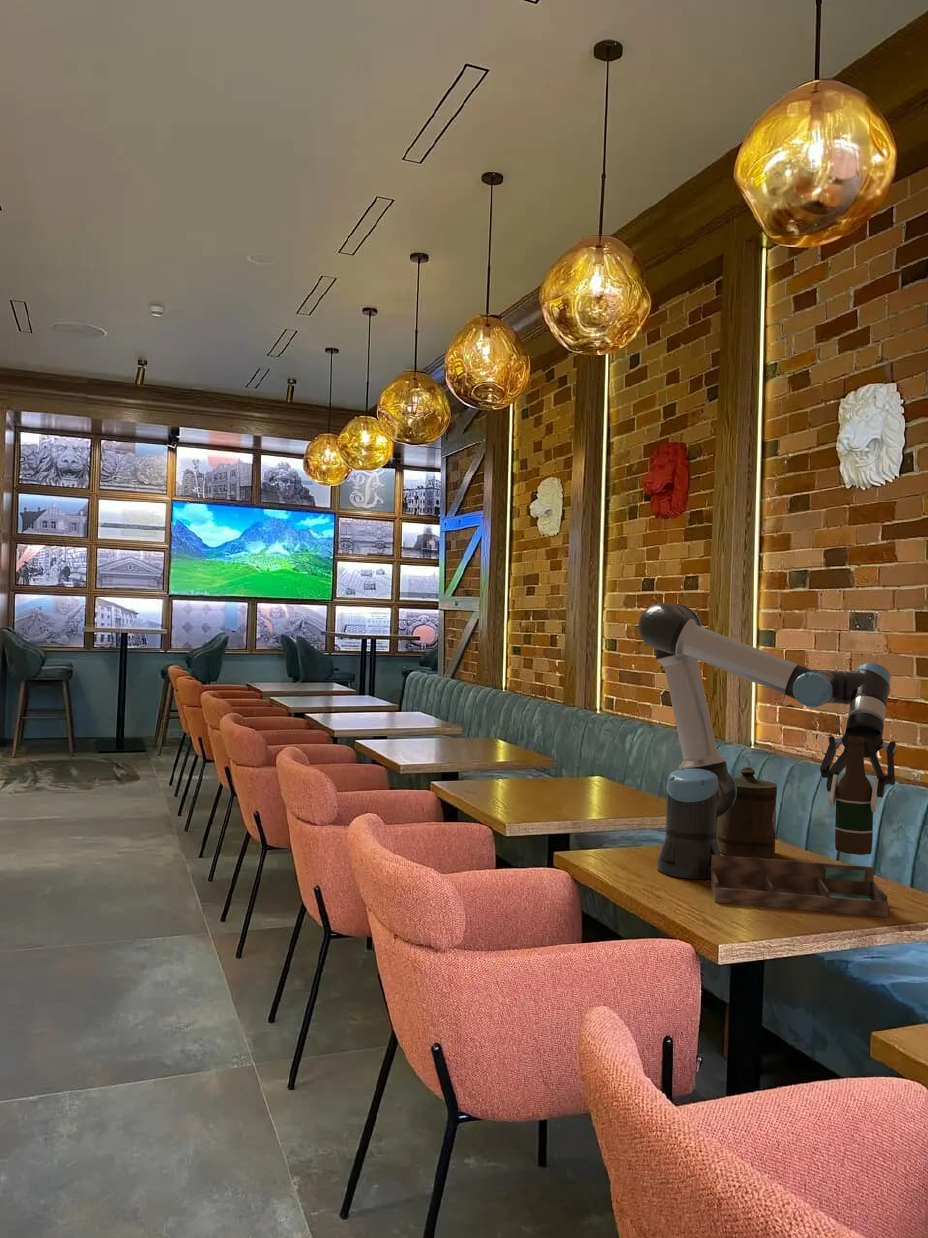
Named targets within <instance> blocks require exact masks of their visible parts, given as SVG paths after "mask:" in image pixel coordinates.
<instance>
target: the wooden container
mask: <svg viewBox="0 0 928 1238" xmlns="http://www.w3.org/2000/svg"><path fill="white" fill-rule="evenodd" d="M740 773H741V775H740V777H733V779H734V781H735V783H736V787H737V797H736V800H735V802H734V804H733V806H732V807H731V808H730V810H729V811H728V812H726V813H725V814H723V815H721V816H719V817H717V830H716V842H717V846H718V849H719V852H720V854H721V855H725V856H738V857H751V858H764V859H772V858H773V857H775V855H776V853H775V852H776V837H777V836H776V835H777V833H776V832H777V831H776V830H777V824H776V823H777V793H778V786H777V784H776V783H774V782H772V781H768V780H762V779H757V778H756V777H755V776H754V775H755V774H756V770H755V769H753V767H748V766H746V767H744V768H741V770H740Z"/></svg>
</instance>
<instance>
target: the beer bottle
mask: <svg viewBox="0 0 928 1238" xmlns="http://www.w3.org/2000/svg"><path fill="white" fill-rule="evenodd" d="M847 742H848V751H847V763H846V766H845V771H844V775H843V776H842V777H841V778H840V779H839V781H838V782H839V783H838V787H837V792H836V800H835V823H834V824H835V825H834V826H835V827H834V828H835V829H834V846H835V847H834V848H835V851H837V852H841V853H844V854H848V855H858V856H863V855H865V856H866V855H871V854H872V850H873V836H874V835H873V834H874V832H873V830H874V829H873V827H874V826H873V825H874V812H872V810H871V798H872V791H873V786H872V784H871V781H870V780H869V779H868V777H867V775H866V771H865V758H864V747H863V744H864V743H865V740H864V738H863V737H859V736H849V737H848V739H847Z"/></svg>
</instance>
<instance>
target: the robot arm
mask: <svg viewBox="0 0 928 1238" xmlns="http://www.w3.org/2000/svg"><path fill="white" fill-rule="evenodd" d="M637 625H638V626H637V627H638V629H637V630H638V633H639V637H640V638H641V640H642V641H643V642H644V644H646V645H647V646H648V647H651V648H652V649H653V650H654V655H655V660H656V662H658V663H659V664H660V665H662V666H663V668H664V673H665V678H666V683H667V688H668V692H669V696H670V701H671V706H672V710H673V717H674V721H675V726H676V730H677V735H678V740H679V745H680V749H681V750H680V751H681V753H682V762H681V763H680V764H679V766H678V769H676V770H674V771H672V772H671V773H670V774H669V775H668V777H667V784H666V788H665V789H666V812H665V813H666V815H665V816H666V817H665V837H664V840H663V843H662V845H661V848H660V851H659V854H658V857H657V861H656V863H657V864H656V865H657V866H656V868H657V870H658V872H660V873H662V874H664V875H668V876H672V877H675V878H681V879H686V880H687V879H689V880H711V860H712V855H721V853H720V852H719V849H718V846H717V842H716V830H717V817H719V816H721V815H723V814H725V813H726V812H728V811H729V810H730V808H731V807H732V806H733V804H734V802H735V800H736V797H737V787H736V783H735V781H734V779H733V778H734V777H733V776H732V775H731V774H730V773H729V771H728V770H729V769H728V766H727V761H726V760H727V759H725V758H724V757H722V756H721V755H720V754H719V753H718V746H717V742H716V739H715V734H714V729H713V724H712V721H711V716H710V715H711V714H710V711H709V707H708V705H709V704H708V701H707V696H706V692H705V687H704V682H703V678H702V673H701V668H700V663H699V661H700V662H703V663H705V664H707V665H710V666H712V667H715V668H717V669H719V670H722V671H725V672H727V673H729V674H732V675H735V676H738V677H739V678H743V679H745V680H747V681H750V682H752V683H755V684H757V685H760V686H762V687H764V688H767V689H769V690H772V691H774V692H776V693H777V692H778V693H779V694H782V695H784V696H787V697H789V698H790V699H794V700H796V701H797V702H798V703H799V704H801V705H803V706H805V707H809V708H818V707H820V706H823V705H825V704H834V705H835V704H837V705H849V709H848V715H847V721H846V727H845V732H844V734H843V736H842V737H839V738H835V736H833V735H830V736H829V737H828V746H827V748H826V752H825V754H824V757H823V760H822V761H821V762H822V763H821V765H820V767H819V770H820V771H819V772H820V776H821V778H822V779H823V778H827V779H826V780H827V781H826V786H825V787H826V791H827V792H829V797H828V801H829V802H828V803H829V806H830V808H835V806H836V792H837V787H838V785H839V782H840V781H839V775H840V774H841V773H842V771H843V770H844V769H845V768H846V763H847V751H848V742H847V739H848V737H849V736H859V737H863V738H864V740H865V743H864V744H863V747H864V759H865V758H866V759H868V760H869V762H870V764H871V765H872V769H873V772H874V774H875V777H876V778H874V779H873V785H872V790H873V791H872V798H871V810H872V812H873V813H876V812H877V805H878V798H883V797H884V796H885V789H886V786H887V785H891V786H894V785H895V784H896V772H895V759H894V758H895V755H896V752H897V743H896V742H895V741H894V740H892V741H889V742H887V741H884V739H883V735H884V733H883V732H884V727H885V720H886V711H887V707H888V701H889V700H888V699H889V693H890V684H891V675H890V672H889V670H888V668H886V667H885V666H883V665H881V664H879V663H876V662H866V663H865V664H864V663H863V664H860V665H859V666H858V667H857V669H856V670H855V671H833V670H818V669H811V668H808V667H806V666H804V665H803V666H802V665H799V664H797V663H794V662H792V661H790V660H787V659H784V658H782V657H779V656H777V655H774V654H771V653H769V652H766V651H764V650H761V649H758V648H756V647H754V646H752V645H748V644H746V643H744V642H741V641H739V640H735V639H733V638H730V637H727V636H725V635H723V634H721V633H718V632H715V631H712V630H711V629H708V628H704V627H703V625H702V621H701V619H700V617H699V616H698V614H697V613H696V612H695V611H694V610H693V609H691V608H690V607H688V606H686V605H684V604H680V603H673V604H672V603H665V602H658V603H654V604H651V605H650V606H648V607H647V608H646V609H645V610H644V611H643V612H642V613H641V615H640V617H639V620H638V624H637ZM841 745H843V747H844V749H843V751H842V753H841V754H840V755H839V756H838V758H837V759H836V760H835V762H834V759H835V756H836V753H837V750H838V749H840V746H841ZM882 749H884V753H886V760H887V775H885V773H884V771H883V769H882V767H881V763H880V761H879V759H878V756H877V753H878V752H879V751H880V750H882ZM833 762H834V763H833Z"/></svg>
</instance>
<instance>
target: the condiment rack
mask: <svg viewBox="0 0 928 1238" xmlns="http://www.w3.org/2000/svg"><path fill="white" fill-rule="evenodd" d="M874 869H875V867H874V866H867V865H865V866H864V865H854V864H853V865H852V864H842V863H841V864H840V863H828V862H827V863H826V862H815V861H814V862H813V861H800V860H789V859H787V860H786V859H775V858H773V859H772V858H766V859H764V858H751V857H738V856H728V855H725V854H720V855H712V860H711V879H710V888H711V892H712V896H713V897H712V898H713V902H714V903H716V904H717V903H719V904H731V905H741V906H754V907H764V908H775V909H777V908H778V909H789V910H796V911H797V910H800V911H809V912H810V911H811V912H823V913H832V914H833V913H835V914H846V915H858V916H868V917H869V916H870V917H878V918H879V917H880V918H888V915H889V914H888V913H889V910H888V908H889V902H888V896H887V894H885V892H884V891H883V890H882V889H881V888H880V887H879V886H878V885H877V884H876V882H875V879H874V878H875V877H874V875H875V870H874Z"/></svg>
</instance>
